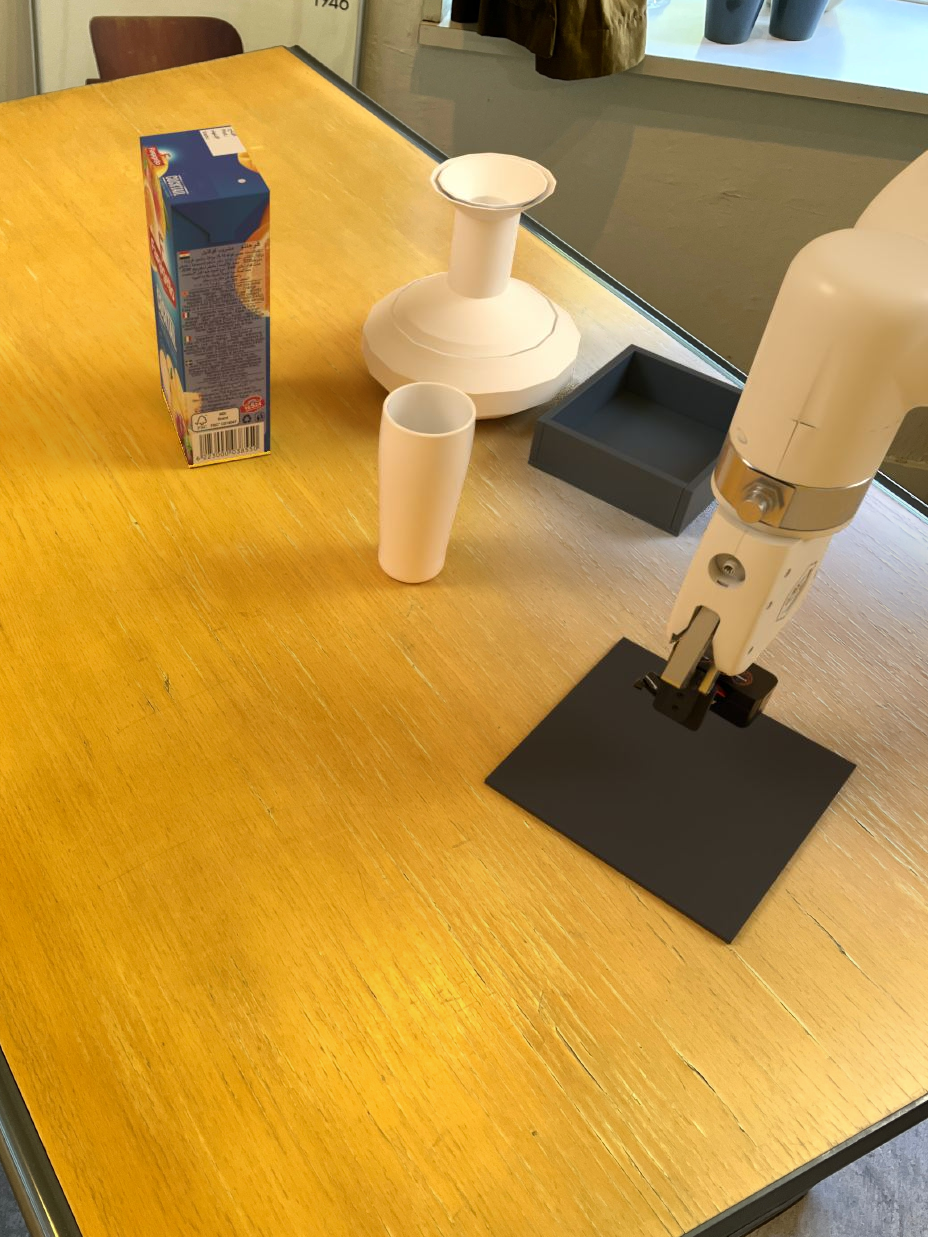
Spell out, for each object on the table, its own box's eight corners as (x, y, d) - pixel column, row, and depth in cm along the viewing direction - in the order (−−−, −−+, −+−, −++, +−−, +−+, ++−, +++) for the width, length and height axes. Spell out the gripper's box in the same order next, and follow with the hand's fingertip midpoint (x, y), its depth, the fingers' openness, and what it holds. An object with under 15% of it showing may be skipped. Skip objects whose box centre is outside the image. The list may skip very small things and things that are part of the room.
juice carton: (270, 455, 101) (270, 190, 83) (189, 469, 99) (170, 204, 81) (237, 381, 108) (230, 124, 90) (161, 393, 107) (139, 136, 89)
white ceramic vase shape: (614, 385, 107) (667, 185, 93) (469, 472, 99) (502, 266, 84) (460, 301, 117) (485, 109, 103) (316, 373, 109) (323, 175, 95)
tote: (764, 450, 100) (782, 405, 97) (677, 537, 93) (692, 492, 89) (619, 387, 107) (631, 343, 103) (527, 463, 99) (536, 419, 96)
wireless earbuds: (668, 654, 76) (681, 621, 74) (765, 712, 73) (782, 678, 70) (630, 691, 74) (642, 658, 72) (727, 752, 71) (743, 719, 68)
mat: (855, 768, 77) (857, 764, 77) (729, 945, 68) (731, 942, 68) (622, 639, 85) (623, 636, 85) (483, 782, 76) (484, 779, 76)
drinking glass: (358, 582, 90) (371, 426, 78) (380, 529, 94) (394, 373, 83) (442, 601, 88) (467, 444, 77) (460, 545, 92) (486, 389, 81)
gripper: (786, 587, 54) (683, 805, 68) (925, 429, 62) (808, 652, 76) (647, 518, 58) (576, 739, 71) (795, 377, 66) (705, 600, 79)
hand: (696, 692), depth 73 cm, fingers closed on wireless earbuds, 4 cm apart
